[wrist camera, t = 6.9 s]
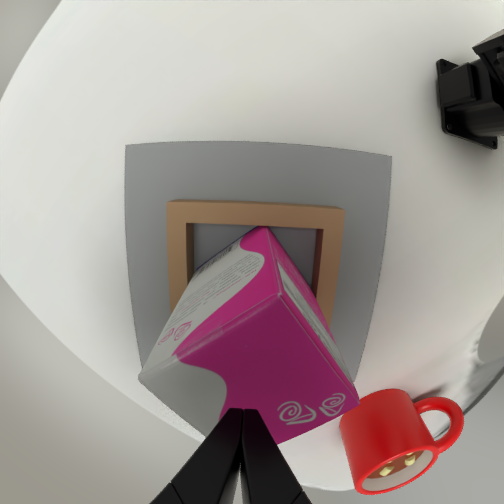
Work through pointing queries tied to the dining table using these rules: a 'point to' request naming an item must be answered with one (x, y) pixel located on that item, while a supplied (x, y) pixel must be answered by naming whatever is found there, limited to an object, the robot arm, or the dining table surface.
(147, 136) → the dining table surface
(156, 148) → the holder
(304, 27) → the dining table surface
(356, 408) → the mug
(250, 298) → the supplement box
